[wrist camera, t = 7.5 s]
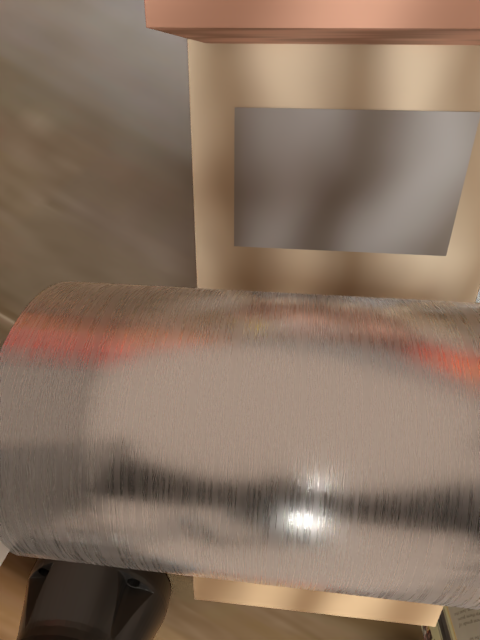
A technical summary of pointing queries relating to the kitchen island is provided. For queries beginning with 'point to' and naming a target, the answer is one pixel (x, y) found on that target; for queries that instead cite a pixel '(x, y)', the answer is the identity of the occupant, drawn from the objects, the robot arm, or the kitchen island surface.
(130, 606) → the robot arm
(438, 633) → the coffee can
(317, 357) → the loose roller
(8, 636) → the kitchen island surface
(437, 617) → the oak slab
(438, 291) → the roller bed
